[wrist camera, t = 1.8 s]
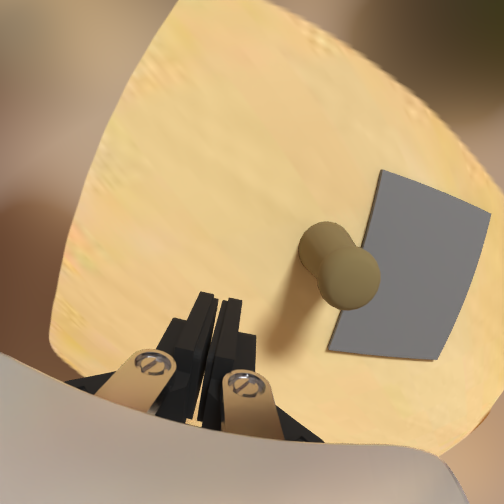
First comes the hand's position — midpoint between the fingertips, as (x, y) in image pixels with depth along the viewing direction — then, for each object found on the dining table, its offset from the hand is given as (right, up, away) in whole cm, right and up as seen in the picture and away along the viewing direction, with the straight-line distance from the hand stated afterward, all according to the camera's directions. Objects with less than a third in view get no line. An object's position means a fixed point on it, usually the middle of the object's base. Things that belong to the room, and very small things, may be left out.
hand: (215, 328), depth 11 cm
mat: (+22, 0, +21) cm, 30 cm away
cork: (+9, +3, +20) cm, 23 cm away
